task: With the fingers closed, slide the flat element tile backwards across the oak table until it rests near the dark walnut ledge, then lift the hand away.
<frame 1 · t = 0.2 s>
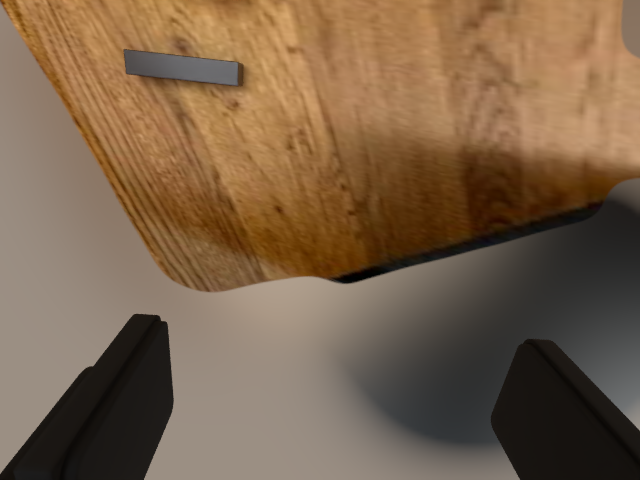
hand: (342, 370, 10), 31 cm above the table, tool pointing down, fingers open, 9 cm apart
walnut ledge: (190, 69, 34), on the table
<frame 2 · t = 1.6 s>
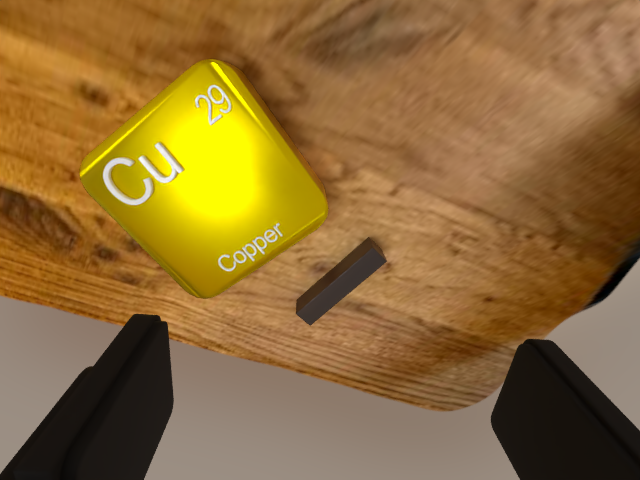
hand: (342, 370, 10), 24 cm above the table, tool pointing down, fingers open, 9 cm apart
walnut ledge: (338, 275, 36), on the table
element tile: (219, 181, 32), on the table
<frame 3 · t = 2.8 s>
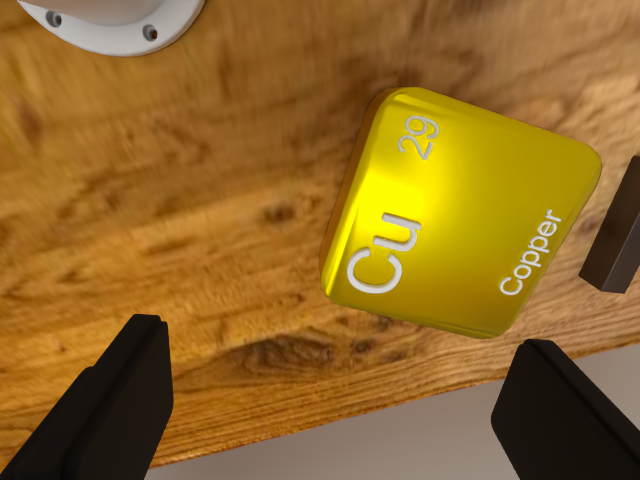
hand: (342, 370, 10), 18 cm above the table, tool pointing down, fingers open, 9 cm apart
walnut ledge: (615, 221, 28), on the table
element tile: (432, 211, 28), on the table
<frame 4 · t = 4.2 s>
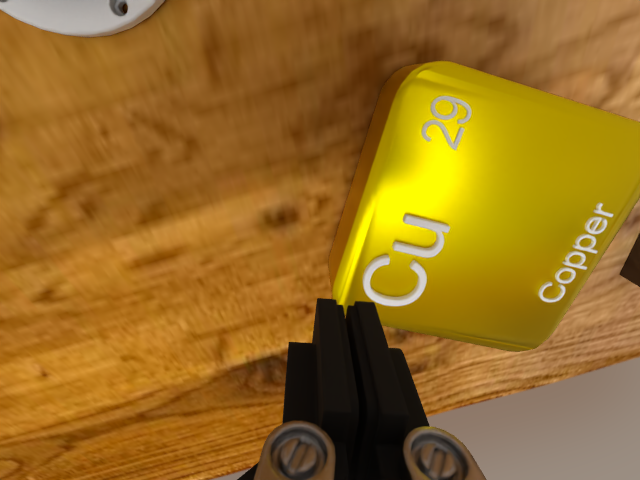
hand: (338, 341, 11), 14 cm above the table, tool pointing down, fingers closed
element tile: (456, 208, 24), on the table
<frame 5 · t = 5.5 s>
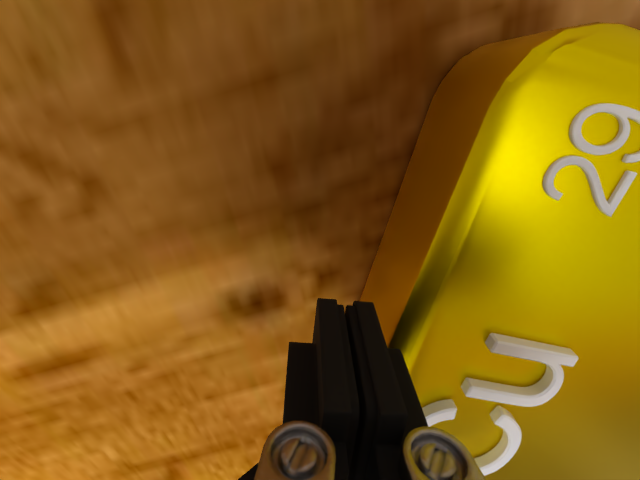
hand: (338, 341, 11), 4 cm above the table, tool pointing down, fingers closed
element tile: (547, 282, 15), on the table, touching gripper
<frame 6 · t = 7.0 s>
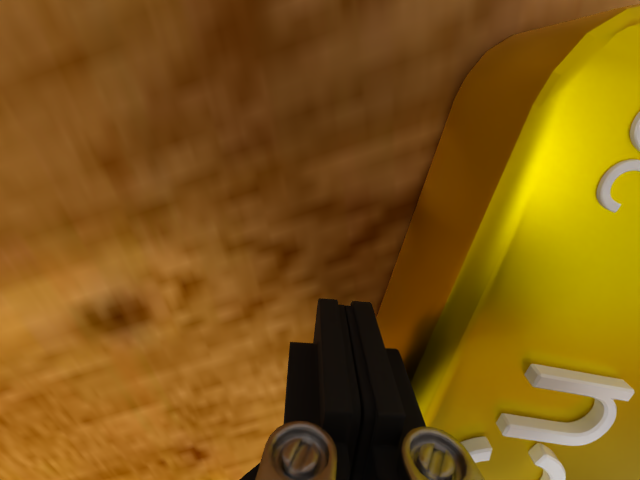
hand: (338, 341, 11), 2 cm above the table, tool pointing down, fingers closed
element tile: (581, 296, 13), on the table, touching gripper, walnut ledge
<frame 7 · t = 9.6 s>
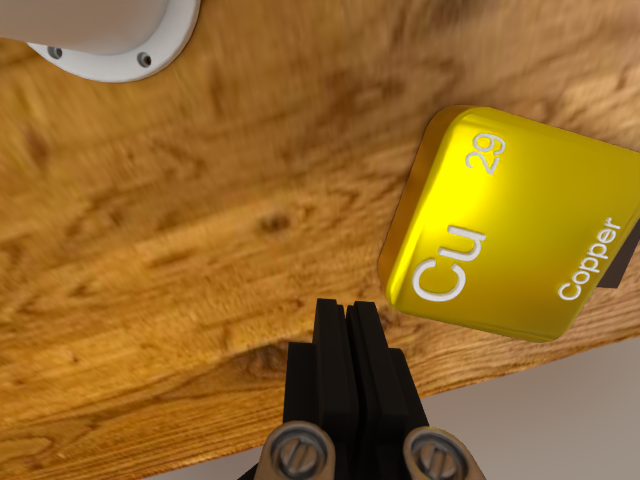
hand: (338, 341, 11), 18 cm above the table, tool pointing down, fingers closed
walnut ledge: (605, 217, 28), on the table
element tile: (486, 220, 29), on the table
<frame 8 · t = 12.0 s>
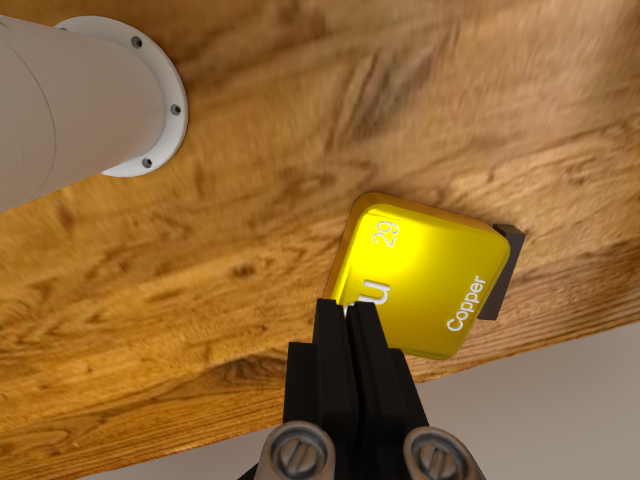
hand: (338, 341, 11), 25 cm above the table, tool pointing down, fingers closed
walnut ledge: (489, 267, 39), on the table
element tile: (402, 269, 38), on the table
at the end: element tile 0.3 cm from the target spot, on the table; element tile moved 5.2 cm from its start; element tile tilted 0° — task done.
